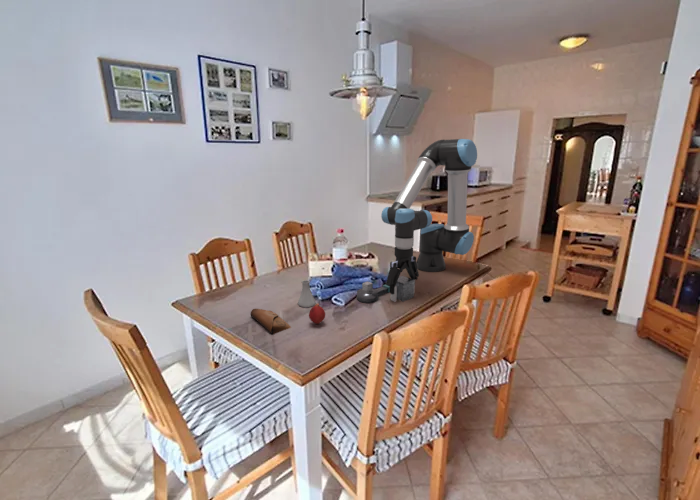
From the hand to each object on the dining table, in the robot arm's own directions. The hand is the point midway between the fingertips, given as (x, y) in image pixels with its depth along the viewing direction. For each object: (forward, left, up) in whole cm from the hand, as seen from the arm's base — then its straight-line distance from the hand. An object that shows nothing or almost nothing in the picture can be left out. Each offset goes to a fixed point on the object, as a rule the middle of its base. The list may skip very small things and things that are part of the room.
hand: (402, 296), depth 152 cm
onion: (+41, -5, 0) cm, 41 cm away
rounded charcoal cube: (0, 0, 0) cm, 0 cm away
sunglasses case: (+53, -18, -1) cm, 56 cm away
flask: (+34, -22, 0) cm, 40 cm away
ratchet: (+5, -9, 0) cm, 10 cm away
